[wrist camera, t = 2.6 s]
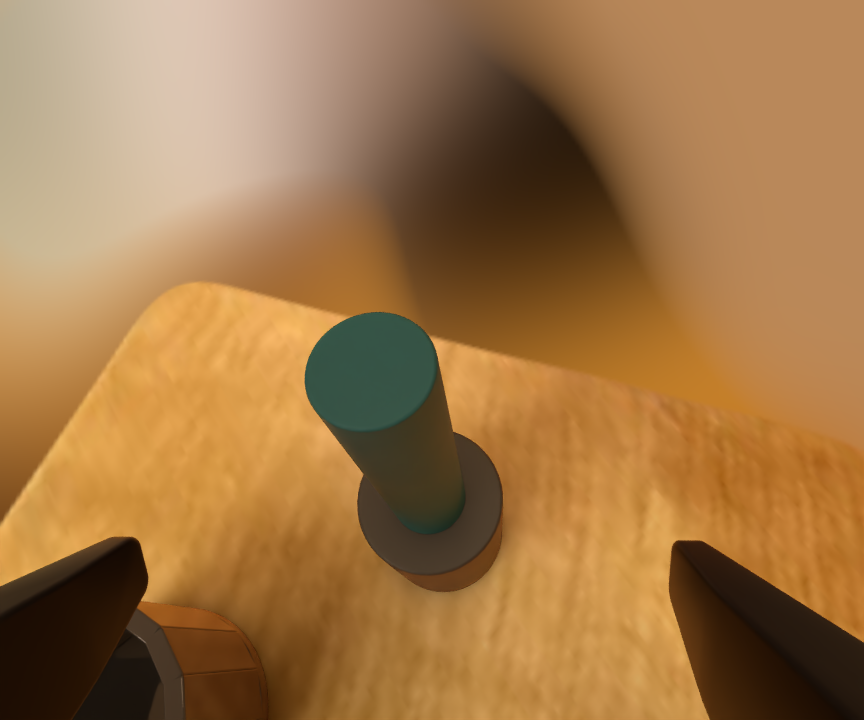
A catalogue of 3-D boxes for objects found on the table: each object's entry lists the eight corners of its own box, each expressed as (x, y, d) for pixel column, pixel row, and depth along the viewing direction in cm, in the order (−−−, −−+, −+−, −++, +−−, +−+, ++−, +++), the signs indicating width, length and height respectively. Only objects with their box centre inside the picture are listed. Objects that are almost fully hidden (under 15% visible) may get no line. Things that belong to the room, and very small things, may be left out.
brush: (519, 569, 17) (553, 448, 7) (403, 608, 17) (252, 546, 7) (479, 458, 19) (457, 232, 9) (375, 492, 19) (225, 301, 9)
